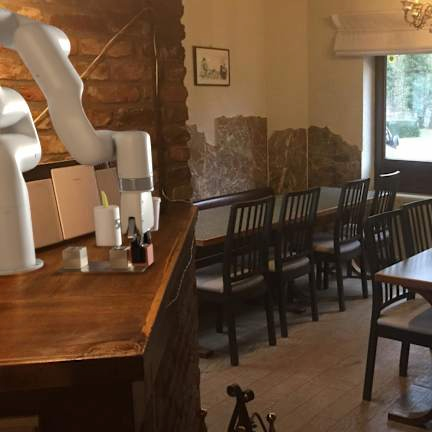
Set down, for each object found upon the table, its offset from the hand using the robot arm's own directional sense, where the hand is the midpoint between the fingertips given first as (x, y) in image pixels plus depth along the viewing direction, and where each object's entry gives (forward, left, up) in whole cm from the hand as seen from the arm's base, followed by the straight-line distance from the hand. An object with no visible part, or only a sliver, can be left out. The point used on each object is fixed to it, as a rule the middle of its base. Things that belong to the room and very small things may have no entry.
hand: (142, 259), depth 150 cm
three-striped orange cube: (0, 0, -1) cm, 1 cm away
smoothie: (-10, +41, -2) cm, 42 cm away
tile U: (-5, 0, -2) cm, 5 cm away
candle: (-16, +23, -2) cm, 28 cm away
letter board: (-9, 0, -2) cm, 9 cm away
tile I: (-16, 0, -2) cm, 16 cm away
